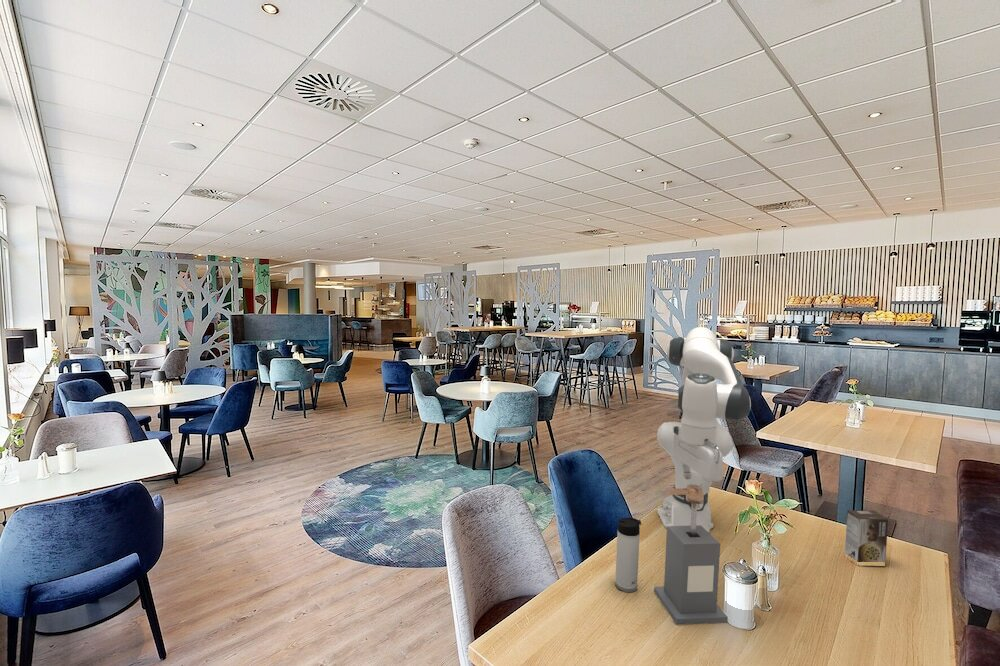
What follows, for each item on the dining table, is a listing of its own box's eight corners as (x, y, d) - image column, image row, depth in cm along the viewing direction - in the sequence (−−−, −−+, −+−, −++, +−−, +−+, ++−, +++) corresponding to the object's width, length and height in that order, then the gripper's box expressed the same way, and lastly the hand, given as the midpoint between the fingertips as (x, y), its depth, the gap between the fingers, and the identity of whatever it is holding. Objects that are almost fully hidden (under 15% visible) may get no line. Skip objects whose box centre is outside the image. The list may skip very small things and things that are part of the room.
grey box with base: (653, 591, 136) (657, 522, 135) (700, 590, 138) (703, 521, 136) (676, 624, 123) (680, 548, 121) (727, 622, 124) (731, 547, 122)
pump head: (662, 553, 131) (665, 484, 129) (695, 552, 132) (698, 484, 130) (669, 562, 126) (672, 491, 125) (703, 561, 127) (707, 490, 126)
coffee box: (870, 556, 159) (874, 510, 158) (885, 567, 152) (889, 519, 151) (843, 555, 159) (846, 509, 158) (856, 566, 152) (860, 518, 151)
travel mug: (639, 594, 135) (642, 526, 134) (615, 590, 136) (618, 523, 135) (637, 581, 141) (640, 516, 140) (614, 578, 143) (617, 514, 141)
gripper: (731, 446, 117) (728, 500, 118) (690, 425, 137) (688, 471, 138) (707, 446, 116) (704, 501, 117) (669, 425, 137) (667, 471, 138)
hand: (695, 484), depth 128 cm, fingers open, 8 cm apart
